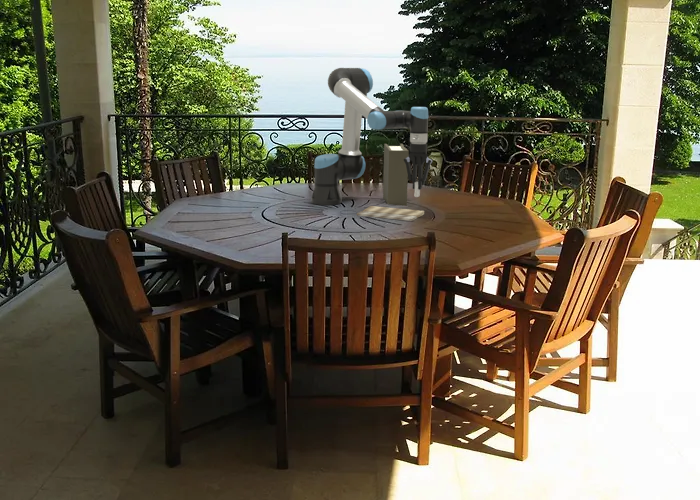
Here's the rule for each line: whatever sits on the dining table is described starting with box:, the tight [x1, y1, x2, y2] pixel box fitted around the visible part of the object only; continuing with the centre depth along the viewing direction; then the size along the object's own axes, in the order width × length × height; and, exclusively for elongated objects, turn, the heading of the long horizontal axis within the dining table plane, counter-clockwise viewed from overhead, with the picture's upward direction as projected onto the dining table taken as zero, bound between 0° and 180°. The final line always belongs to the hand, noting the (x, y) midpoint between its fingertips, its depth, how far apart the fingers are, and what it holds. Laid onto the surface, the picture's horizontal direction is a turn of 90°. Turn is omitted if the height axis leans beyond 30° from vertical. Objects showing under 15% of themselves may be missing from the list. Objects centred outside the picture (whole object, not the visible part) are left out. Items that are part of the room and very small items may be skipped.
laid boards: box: [356, 210, 418, 222], centre depth 292 cm, size 26×6×2 cm, turn 65°
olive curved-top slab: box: [382, 143, 410, 207], centre depth 327 cm, size 22×9×28 cm, turn 3°
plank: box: [362, 205, 425, 219], centre depth 299 cm, size 26×9×2 cm, turn 65°
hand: (416, 196), depth 295 cm, fingers closed
